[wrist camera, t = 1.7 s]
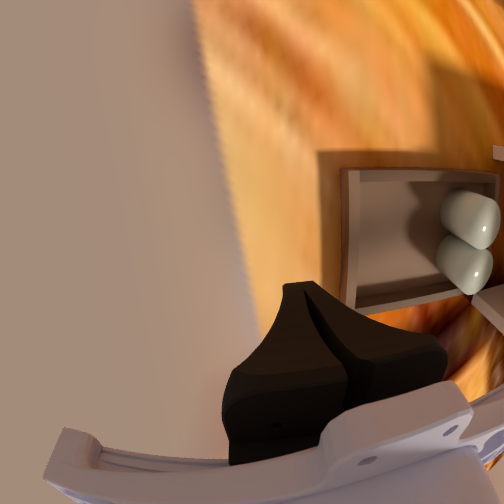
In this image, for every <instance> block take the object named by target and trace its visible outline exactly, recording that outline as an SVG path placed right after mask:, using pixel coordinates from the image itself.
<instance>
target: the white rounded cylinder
mask: <svg viewBox="0 0 504 504" xmlns="http://www.w3.org/2000/svg"><path fill="white" fill-rule="evenodd" d="M435 261H436V267H437V269H438V270H439V271H440V272H441V273H442V274H443V275H444V276H446V277H447V278H448V279H449V280H450V281H451V282H452V283H454V284H455V285H456V286H457V287H458V288H459V289H460V290H461V291H463V292H464V293H465V294H467V295H472V294H475V293H477V292H478V291H480V290H481V289H482V288H483V287H484V285H485V284H486V282H487V281H488V279H489V277H490V275H491V272H492V267H493V258H492V255H491V253H490V252H489V251H488V250H487V249H482V250H479V249H476V248H475V247H473V246H472V245H470V244H468V243H467V242H465V241H464V240H462V239H460V238H459V237H457V236H455V235H454V234H452V233H451V234H449V235H447V236H446V237H445V238H444V239H443V240H442V242H441V243H440V245H439V247H438V249H437V252H436V258H435Z"/></svg>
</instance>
